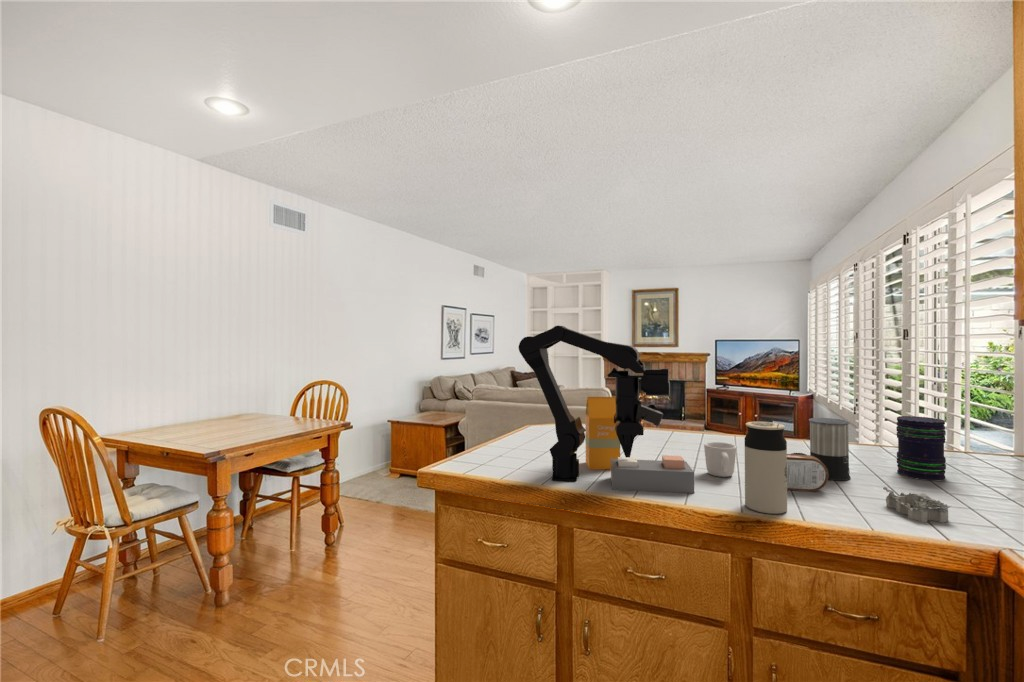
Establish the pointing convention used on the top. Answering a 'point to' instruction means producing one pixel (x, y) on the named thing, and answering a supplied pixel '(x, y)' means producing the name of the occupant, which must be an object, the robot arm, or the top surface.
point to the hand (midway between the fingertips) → (627, 457)
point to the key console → (652, 477)
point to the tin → (805, 473)
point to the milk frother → (830, 446)
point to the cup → (720, 458)
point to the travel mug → (766, 468)
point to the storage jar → (921, 447)
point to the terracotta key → (672, 462)
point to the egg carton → (918, 506)
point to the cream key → (627, 462)
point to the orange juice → (601, 432)
